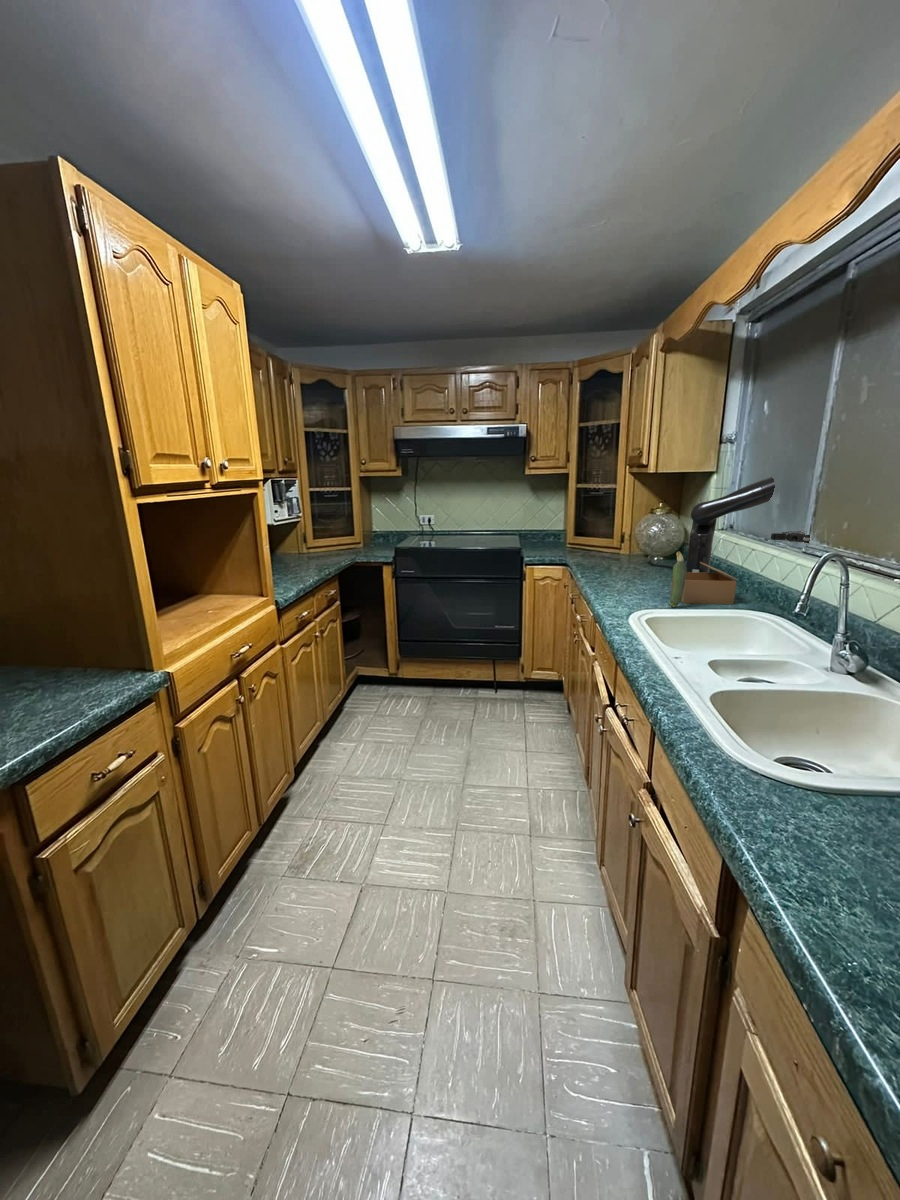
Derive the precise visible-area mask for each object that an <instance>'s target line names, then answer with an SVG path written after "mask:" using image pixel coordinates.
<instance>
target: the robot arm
mask: <svg viewBox="0 0 900 1200" xmlns="http://www.w3.org/2000/svg"><path fill="white" fill-rule="evenodd" d="M774 488H775V482H774V479H773V478H772V476H770V477H768V478H767V477H766V478H764V479H761V480H759V481H755V482H753V483H750V484H748V485H745V486H742V487H741V488H738V489H736V490H735V491H733V492H730V493H728V494H726V495H725V496H721V497H718V498H716V499H712V500H708V501H702V502H698V503H696V504H695V505H694V506H693V507H692V509H691V511H690V519H691V520H692V523H691V529H690V532H689V538H688V539H689V540H688V547H687V548H688V549H687V556H686V557H687V558H686V564H685V565H686V568H687V572H706V573H710V568H709V567H707V566H705V565H703V564H701V563H700V562H702V563H704V564H706V565H709V566H711V559H712V550H713V543H714V536H715V532H716V525H717V520H718V519H719V518H721V517H724V516H726V515H728V514H732V513H736V512H740V511H744V510H748V509H752V508H755V507H759V506H761V505H765V504H767V503H769V502H768V501H769V500H770V498H771V497H772V495H773V492H774ZM801 531H802V530H797V531H795V530H794V531H792V530H789V531H782V532H777V533H776V532H772V533H771V534H770V540H773V541H785V542H790V543H800V544H806V543H809V541H810V535H805V532H806V531H804V532H801ZM802 542H804V543H802ZM647 563H648V564H650V565H651V566H653V567H654V566H655V567H662V568H670V569H673V567H674V565H669V564H658V563H653V561H652V560H648V562H647Z"/></svg>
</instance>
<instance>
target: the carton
mask: <svg viewBox="0 0 900 1200" xmlns="http://www.w3.org/2000/svg"><path fill="white" fill-rule="evenodd" d="M737 583H738V582H737V580H736V579H733V578H731V577H729V576H726V575H724V574H722V573H720V572H709V573H706V572H687V573H686V580H685V586H684V590H683V595H682V598H681V601H680V603H682V604H695V605H696V604H697V605H699V604H702V605H734V604H735V603H734V601H735V596H736V589H737ZM673 586H674V579H673V577H672V579H671V588H670V594H671V595H672V590H673Z"/></svg>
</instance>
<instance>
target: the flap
mask: <svg viewBox="0 0 900 1200" xmlns="http://www.w3.org/2000/svg"><path fill="white" fill-rule="evenodd" d="M700 563H701V564H703V565H705V566H707V567H709V569H711V570H713V571H715V572H716V573H721V574H723V575H725V576H727V577H729V578H731V579H733V580H735V581H737V580H738V579H737V578H736V577H734V576H733V575H730V574H728V573H726V572H724V571H723V570H720V569H718V568H716V567H713V566H711V565H710V566H709V565H706V564H704V563H702V562H700Z"/></svg>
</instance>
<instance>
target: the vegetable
mask: <svg viewBox="0 0 900 1200" xmlns="http://www.w3.org/2000/svg"><path fill="white" fill-rule="evenodd" d="M675 555H676V561H677V562H676V563H675V564H673V568H672V578H673V579H674V586H673V590H672V594H671V596H670V600H669V606H670V607H671V608H676V607H678V605H679V604H680V603H681V598H682V595H683V590H684V586H685V580H686V573H687V568H686V565H687V564H686V563H685V562H684V555H683V554H682V552H681V551H680V550H679V551H677V552H676V554H675Z"/></svg>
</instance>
